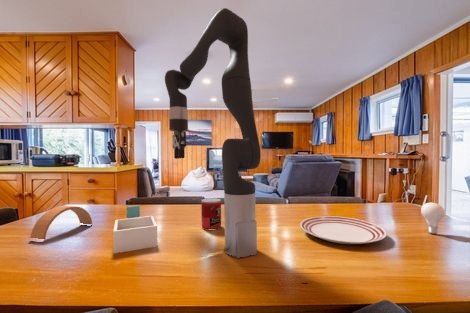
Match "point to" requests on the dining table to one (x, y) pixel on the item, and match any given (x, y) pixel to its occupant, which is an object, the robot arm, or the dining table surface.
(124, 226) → the tub
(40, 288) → the dining table surface
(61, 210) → the arch
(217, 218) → the canned food
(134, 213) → the lid
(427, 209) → the lightbulb
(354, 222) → the dinner plate
